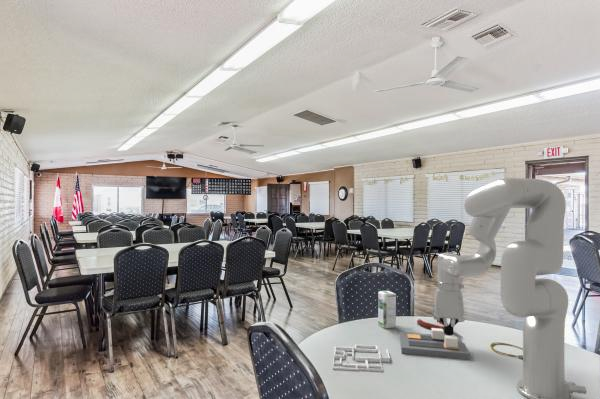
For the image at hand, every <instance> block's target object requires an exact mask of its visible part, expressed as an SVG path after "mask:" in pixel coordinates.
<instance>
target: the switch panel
mask: <svg viewBox="0 0 600 399" xmlns="http://www.w3.org/2000/svg"><path fill="white" fill-rule="evenodd" d="M456 337H457V336H456ZM457 338H458V348H453V347H446V346H445V344H444V340H442V339H432V336H431V334H429V333H419V332H418V333H417V332H409V331H408V332H405V331H400V332H399V340H400V349H401V354H406V355H418V356H425V357H426V356H429V357H438V358H448V359H449V358H450V359H457V360H458V359H459V360H470V352H469V351H468V349H467V347H466V346H465V344H464V341H463V339H462V338H461V337H457Z"/></svg>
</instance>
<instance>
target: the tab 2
mask: <svg viewBox="0 0 600 399" xmlns="http://www.w3.org/2000/svg"><path fill="white" fill-rule="evenodd" d="M444 344H445V346H446V347H453V348H458V338H457V337H456V336H448V335H446V334H444Z"/></svg>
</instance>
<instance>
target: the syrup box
mask: <svg viewBox="0 0 600 399" xmlns="http://www.w3.org/2000/svg"><path fill="white" fill-rule="evenodd" d="M377 294H378V296H377V298H378V299H377V301H378V302H377V303H378V305H377V307H378V309H377V310H378V311H377V312H378V313H377V325H378V326H380V327H382V328H383V329H390V328H391V329H392V328H396V327H397V326H396V325H397V324H396V323H397V294H396V293H394V292H392V291H390V290H380V291H378V293H377Z"/></svg>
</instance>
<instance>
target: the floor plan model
mask: <svg viewBox="0 0 600 399" xmlns="http://www.w3.org/2000/svg"><path fill="white" fill-rule="evenodd" d="M333 349H334V352H333V360H332V370H335V371H336V370H339V371H353V370H355V371H356V372H358V371H362V372H363V370H364V372H365V371H367V372H379V373H381V372H383V370H384V369H383V365H382V363H391V357H390V354H389V350H388V348H386V356H381V350H380V348H379V347H378V345H376V344H375V345H371V344H369V345H368V344H354V346H334V348H333ZM355 352H358V353H359V352H360V353H359V356H355V354H354V353H355ZM361 352H362V353H378V357H369V356H368V355H366V356H362V354H361ZM345 353H346V354H345ZM345 355H347V356H352V358H351V360H352V361H353V360H355V362H365V363H364V364H363V363H362V364H361V363H360V364H359V363H350V362H349V361H347V362H346V363H342V360H345V359H346V358H345ZM337 359H338V360H339V362H335V360H337ZM369 362H370V363H372V364H369ZM374 363H376V364H374ZM378 363H379V364H378ZM341 366H342V367H341ZM355 371H354V372H355Z"/></svg>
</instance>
